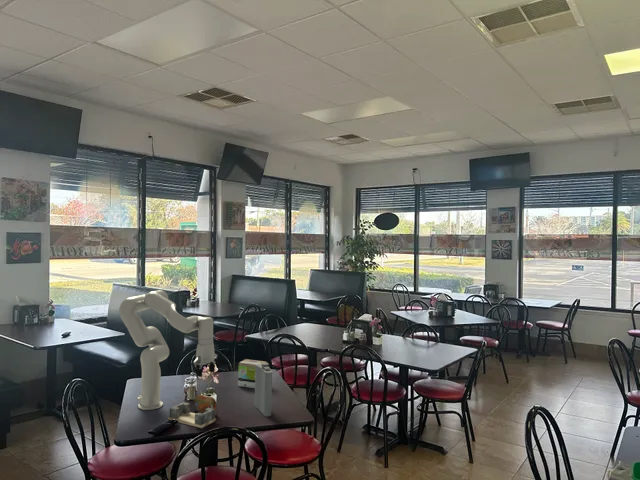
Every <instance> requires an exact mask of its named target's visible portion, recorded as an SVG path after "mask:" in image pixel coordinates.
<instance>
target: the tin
mask: <svg viewBox="0 0 640 480" xmlns="http://www.w3.org/2000/svg"><path fill="white" fill-rule="evenodd" d="M192 404H193V408H194V409H195V411H196V412H198V413H202V414H203V413H205V409H207V408H211V409H215V411H216V410H217V401H216V399H215V398H214V397H212V396H208V395H207V394H206V395H205V394H198V395H195V396H194V397H193V401H192Z"/></svg>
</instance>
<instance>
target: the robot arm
mask: <svg viewBox="0 0 640 480" xmlns="http://www.w3.org/2000/svg"><path fill="white" fill-rule="evenodd" d="M149 309H152V310H154V312H157V313H158V314H160V315H161V316H163V317H165V319H166V321H167V322H168V323H169V325H170V326H172V327H173V328H174V329H176V330H177V331H180V332H181V333H184V334H190V333H192V332H194V331H197V333H198V334H197V339H198V341H197V342H198V343H197V346H196V351H195V360H194V361H193V366H194V367H195V369H196V377H198V378H202V377H203V369H202V367H203V366H204V365H207V364H209V365H208V367H209V369H208V371H209V372H211V373H215V371H216V369H215V368H216V366H215V365H216V361H217V358H218V354H216V353H215V344H214V318H212V317H211V316H201V315H200V316H199V315H191V316H188V317H186V316H183V315H181V314H180V313H178V311H177V310H176V309H177V304H176V303H175V302H173V301H172V300H171V299H169V295H168V294H167V292H166V291H165V290H162V289H158V290H152V291H149V292H148V293H145V294H140V295H135V296H129V297H127V298H125V299H124V300H122V302H121V303H120V306H119V310H118V313H119V317H120V319H121V321H122V322H123V324H124V326H125V328H127V331H128V332H129V333H128V334H129V335H130V337H131V338H132V340H133V342H134V344H135V345H136V346H137V347H140V348H143V347H144V348H145V347H146V346H148V347H146V348H145V349H143V350H142V352H141V353H140V358H139V359H140V364H141V365H140V366H141V389H140V390H141V392H140V393H141V395H138V397H137V398H136V400H137V401H139V403H138V404H137V408H138V409H140V410H142V411H151V410H157V409H160V408H162V407H163V405H164V402H163V401H161V379H162V378H161V376H162V375H161V373H162V371H161V366H160V362H163V361H164V360H167V359H168V357H169V356H170V348H169V345H168V344H167V342H166V340H165V337H163V335H162V333H161V331H160V330H159V329H158V328H157V327H156V326H153V325H151V326H150V325H149V326H147V325H146V324H145V323H144V321H143V319H142V317H140V316H139V315H138V314H137V312H143V311H147V310H149Z"/></svg>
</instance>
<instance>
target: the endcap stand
mask: <svg viewBox="0 0 640 480" xmlns="http://www.w3.org/2000/svg"><path fill="white" fill-rule="evenodd" d="M190 406H191V403H189V402H185V401H183V402H181V403H179V404H176V405H174V406H171V407H169V417H168V418H167V419H168V420H169V421H172V420H173V419H175V420H177V421H178V422H177V423H180V424H184V425H187V426H193V427H195V428H200V429H203V428H205V427H207V426H208V425H210V424H212V423H215V422H216V420H217V418H216V413H215V412H216V410H215V409H211V408H207V409H205V413H202V412H197V413H195V412H190V409H191V407H190Z"/></svg>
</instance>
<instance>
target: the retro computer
mask: <svg viewBox="0 0 640 480" xmlns="http://www.w3.org/2000/svg"><path fill="white" fill-rule="evenodd" d="M262 363H268V362H267V361H263V360H256V359H255V360H254V359H248V358H247V359H246V358H244V359H243V360H242V361H240V362H238V370H237V371H238V372H237V373H238V374H237V375H238V377H237V387H245V388H252V389H255V372H256V364H262Z"/></svg>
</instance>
